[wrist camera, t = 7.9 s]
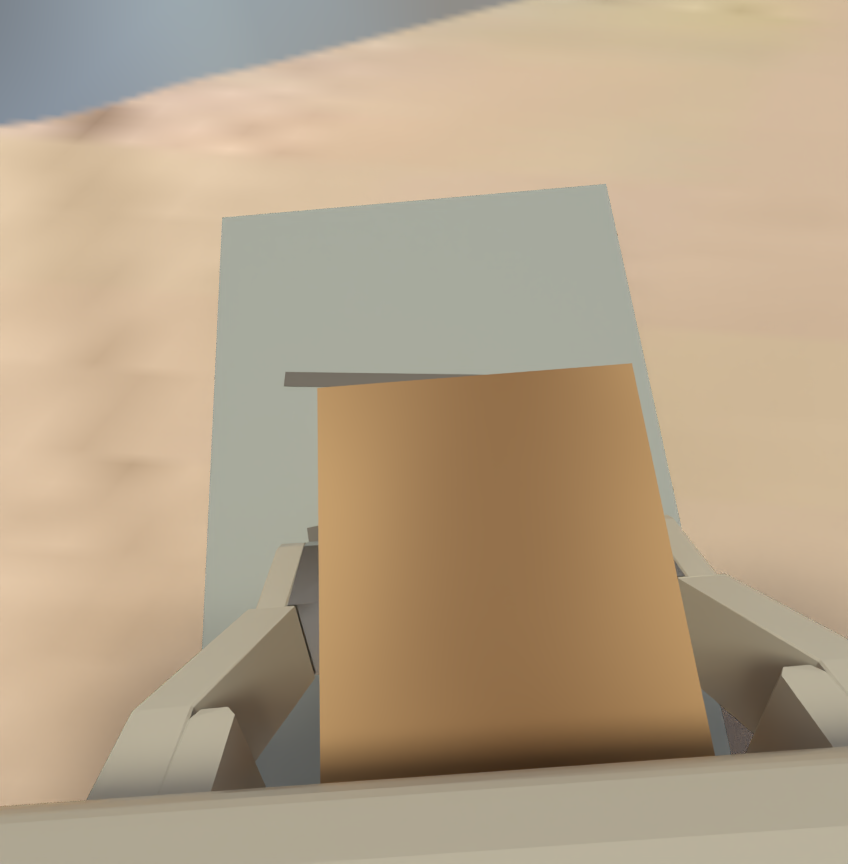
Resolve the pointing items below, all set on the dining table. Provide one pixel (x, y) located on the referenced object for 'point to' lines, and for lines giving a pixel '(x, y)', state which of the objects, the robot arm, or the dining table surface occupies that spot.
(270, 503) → the board
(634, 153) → the dining table surface
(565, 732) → the block
